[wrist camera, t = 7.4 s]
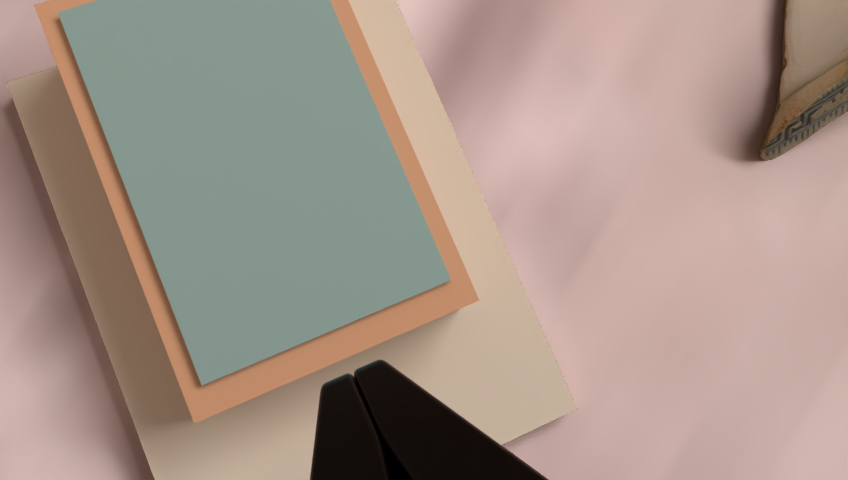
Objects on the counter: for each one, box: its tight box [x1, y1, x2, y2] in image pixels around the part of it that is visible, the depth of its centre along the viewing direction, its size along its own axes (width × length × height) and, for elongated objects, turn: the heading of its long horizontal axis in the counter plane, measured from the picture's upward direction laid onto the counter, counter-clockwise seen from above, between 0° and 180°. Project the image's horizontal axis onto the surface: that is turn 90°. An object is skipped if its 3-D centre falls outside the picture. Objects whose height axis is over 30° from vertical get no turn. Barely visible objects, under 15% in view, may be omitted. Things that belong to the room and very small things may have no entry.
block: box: [34, 0, 479, 424], centre depth 15 cm, size 2×6×9 cm
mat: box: [7, 0, 578, 480], centre depth 17 cm, size 12×9×1 cm
